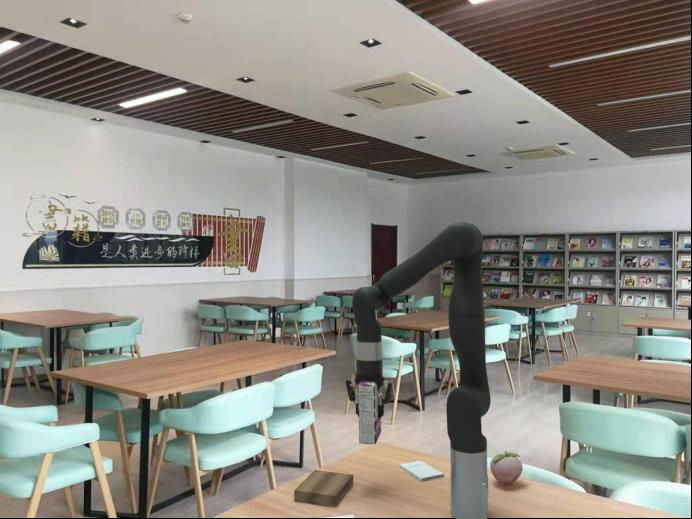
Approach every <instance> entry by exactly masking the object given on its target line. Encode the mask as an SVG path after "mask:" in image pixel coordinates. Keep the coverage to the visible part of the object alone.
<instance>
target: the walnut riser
mask: <svg viewBox="0 0 692 519" xmlns="http://www.w3.org/2000/svg"><path fill="white" fill-rule="evenodd" d="M353 486H354V474H350V473H349V474H348V473H342V472H335V471H326V470H320V469H319V470H317V469H314V470H313V472H311V473H310V475H308V476H307V477H306V478H305V479H304V480H303V481H302V482H301V483H300V484H299V485H298V486H297V487H296V488H295V489H294V490H293V492H294V494H293V496H294V497H293V498H294V502H297V503H304V504H309V505H316V506H323V507H329V508H331V507H332V508H337V507H338V505H339V504H340V503H341V501H342V500H343V499H344V498H345V496H346V495H347V494H348V493H349V491H350V490H351V489H352V487H353ZM350 488H351V489H350ZM349 489H350V490H349ZM346 493H347V494H346ZM343 497H344V498H343ZM342 498H343V499H342ZM339 502H340V503H339Z"/></svg>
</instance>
